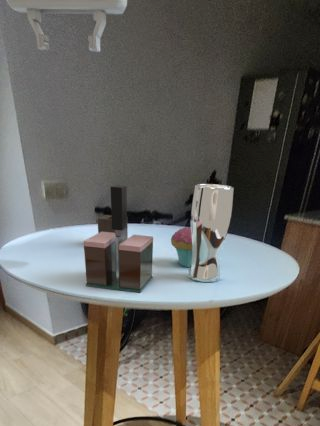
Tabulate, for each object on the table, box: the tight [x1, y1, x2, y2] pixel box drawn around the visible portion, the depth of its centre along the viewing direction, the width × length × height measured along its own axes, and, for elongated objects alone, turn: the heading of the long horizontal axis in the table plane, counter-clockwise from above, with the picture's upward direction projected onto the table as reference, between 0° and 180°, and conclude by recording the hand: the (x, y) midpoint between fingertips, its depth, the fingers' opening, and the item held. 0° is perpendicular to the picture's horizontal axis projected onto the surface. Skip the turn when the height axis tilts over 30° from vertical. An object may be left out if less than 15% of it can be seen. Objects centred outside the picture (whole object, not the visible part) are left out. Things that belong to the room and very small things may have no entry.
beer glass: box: [187, 183, 235, 283], centre depth 65 cm, size 7×7×15 cm
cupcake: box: [170, 226, 192, 268], centre depth 73 cm, size 9×8×12 cm
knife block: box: [97, 214, 129, 241], centre depth 85 cm, size 5×5×6 cm
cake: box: [83, 232, 154, 294], centre depth 63 cm, size 10×9×7 cm
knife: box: [110, 184, 128, 282], centre depth 61 cm, size 2×3×14 cm, turn 167°
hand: (68, 50), depth 63 cm, fingers open, 8 cm apart
